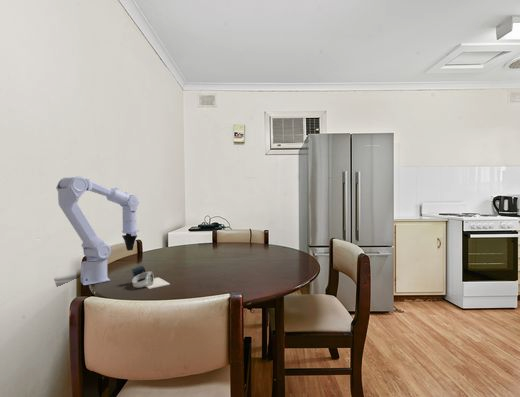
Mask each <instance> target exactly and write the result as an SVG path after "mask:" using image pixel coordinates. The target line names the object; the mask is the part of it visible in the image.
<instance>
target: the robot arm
mask: <svg viewBox="0 0 520 397" xmlns="http://www.w3.org/2000/svg"><path fill="white" fill-rule="evenodd" d="M55 188H56V191H57V200H58V201H57V202H58V206H59V207H60V209H61V210H62V213H64V215H65V217H66V218H67V220H68V222H69V223H70V225H71V226H72V227H73V229H74V231H75V233H76V234H77V236H78V237H79V238H80V240H81V241H82V244H81V247H82V249H83V255H84V257H86V261H85V260H84V261H81V262H80V283H81V284H82V285H83V286H89V285H93V284H99V283H106V282H111V279H110V278H109V277H108V259H109V257H110V256H111V254H112V248H111V246H110V245H109V244H107V243H106V242H105V241H104V240H103V239H102V238H101V237H99V236H98V234H96V232H95V230H94V229H93V227H92V225H91V224H90V222H89V220H88V219H87V217H86V215H85V214H84V212H83V210H82V209H81V207H80V206H79V204H78V202H79V200H80V198H81V197H82V195H83V194H85V192H87V191H89V192H92V193H95V194H97V195H101V196H104V197H106V199H107V201H109V202H112V203H114V204H117V205H119V206H120V207H122V231H121V232H122V234H124V235H122V236H121V237H122V238H123V240H124V243H125V247H126V250H127V251H128V252H129V251H133V250H134V245H135V242H136V239H137V237H138V235H137V232H139V231H140V229H137V210H138V209H137V208H138V205H139V204H140V201H139V199H138V197H137V196H136V195H133V194H129V193H128V192H126V191H125V192H123V191H121V190H120V188H118V187H113V188H111V189H110V188H108V187H106V186H103V185H101V184H99V183H96V182H94V181H92V180H90V178H89V179H88V178H85V177H82V176H80V175H79V176H74V177H63V178H61V179H60V180H59V181H58V182H57V185H56V186H55Z"/></svg>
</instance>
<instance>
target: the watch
mask: <svg viewBox="0 0 520 397" xmlns="http://www.w3.org/2000/svg"><path fill="white" fill-rule="evenodd" d="M131 273H132V276H133V278H132V279H131V283H132V287H134V288H136V289H137V288H143V287H145V286H149V285H152V284H153V282H154V278H155V277H154V273H153V271H146V268H145V267H144V266H143V265H140V266H138V267H136V268H135V267H134V268H132V269H131ZM141 283H142V284H141ZM144 284H145V285H144Z"/></svg>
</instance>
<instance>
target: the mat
mask: <svg viewBox="0 0 520 397" xmlns="http://www.w3.org/2000/svg"><path fill="white" fill-rule="evenodd" d="M141 284H142V283H141ZM144 285H145V284H144ZM170 285H171V284H170V282H168V281H166V280H164V279H162V278H160V277H159V276H158V277H154V282H153V284H152V285H149V286H144V287H146V288H147V289H148V290H150V289H151V290H152V289H155V288H160V287H166V286H170Z"/></svg>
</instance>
